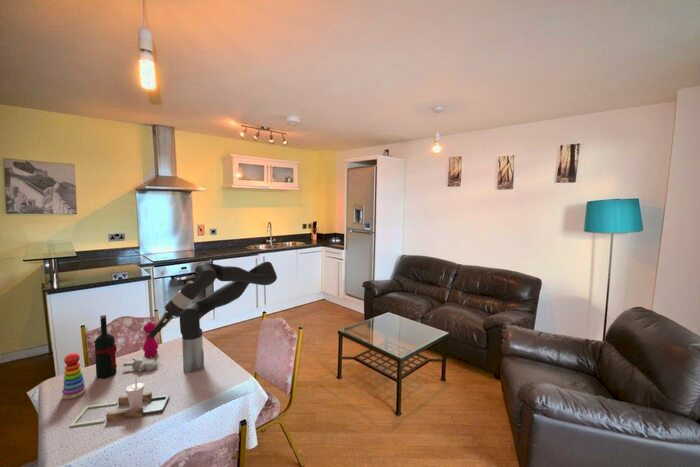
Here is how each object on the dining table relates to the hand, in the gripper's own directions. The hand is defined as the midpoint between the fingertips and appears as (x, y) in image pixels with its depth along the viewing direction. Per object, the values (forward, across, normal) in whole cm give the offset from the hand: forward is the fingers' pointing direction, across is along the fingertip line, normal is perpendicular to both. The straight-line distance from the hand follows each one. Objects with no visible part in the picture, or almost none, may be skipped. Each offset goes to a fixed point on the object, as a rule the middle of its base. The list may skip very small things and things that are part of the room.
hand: (153, 333), depth 134 cm
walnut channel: (+27, -5, -13) cm, 31 cm away
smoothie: (+26, -5, -15) cm, 31 cm away
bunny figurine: (+31, +31, -9) cm, 44 cm away
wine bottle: (+40, +28, +2) cm, 48 cm away
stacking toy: (+45, +14, +7) cm, 47 cm away
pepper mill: (+30, +45, -9) cm, 55 cm away
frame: (+35, -4, -4) cm, 36 cm away
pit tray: (+21, -6, -20) cm, 30 cm away
